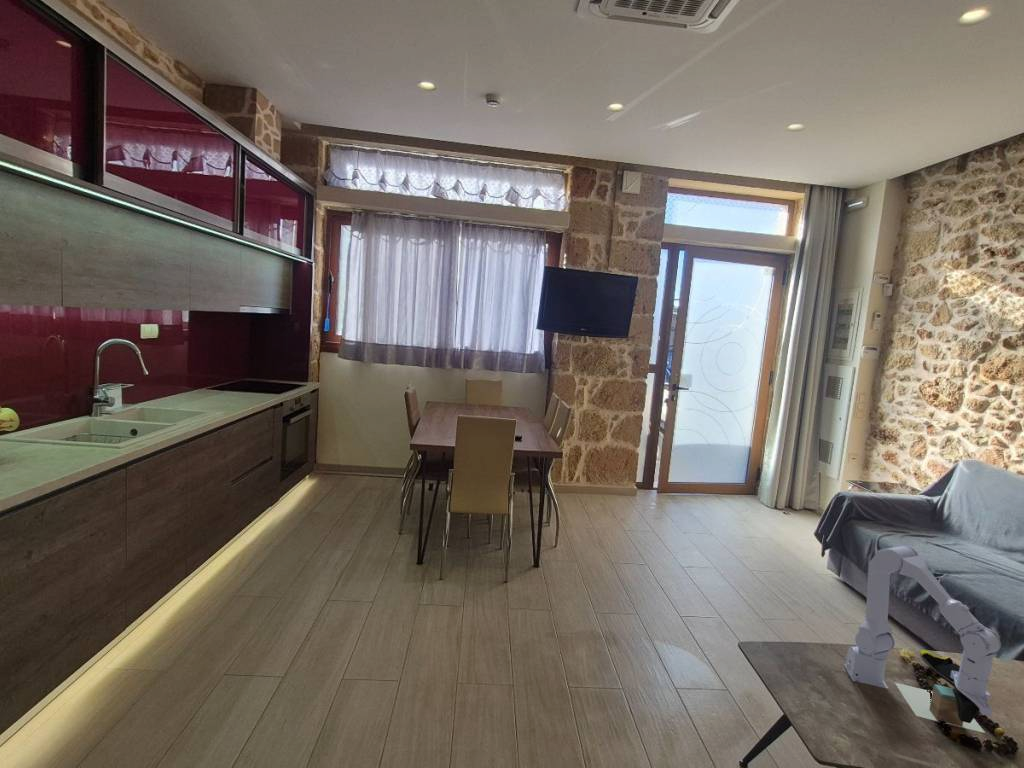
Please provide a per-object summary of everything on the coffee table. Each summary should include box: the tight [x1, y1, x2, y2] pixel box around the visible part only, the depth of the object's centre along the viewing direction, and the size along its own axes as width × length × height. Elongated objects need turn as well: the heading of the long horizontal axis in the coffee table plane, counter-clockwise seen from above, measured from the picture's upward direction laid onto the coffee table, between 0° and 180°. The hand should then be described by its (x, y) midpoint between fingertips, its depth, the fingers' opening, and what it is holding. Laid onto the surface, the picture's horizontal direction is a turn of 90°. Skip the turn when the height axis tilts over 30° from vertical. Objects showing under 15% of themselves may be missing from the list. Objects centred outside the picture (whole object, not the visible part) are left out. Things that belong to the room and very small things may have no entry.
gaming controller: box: [919, 649, 960, 685], centre depth 159 cm, size 15×6×10 cm
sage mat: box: [894, 682, 986, 734], centre depth 146 cm, size 16×14×1 cm
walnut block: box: [929, 683, 963, 726], centre depth 141 cm, size 6×4×8 cm, turn 73°
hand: (964, 720), depth 133 cm, fingers closed
